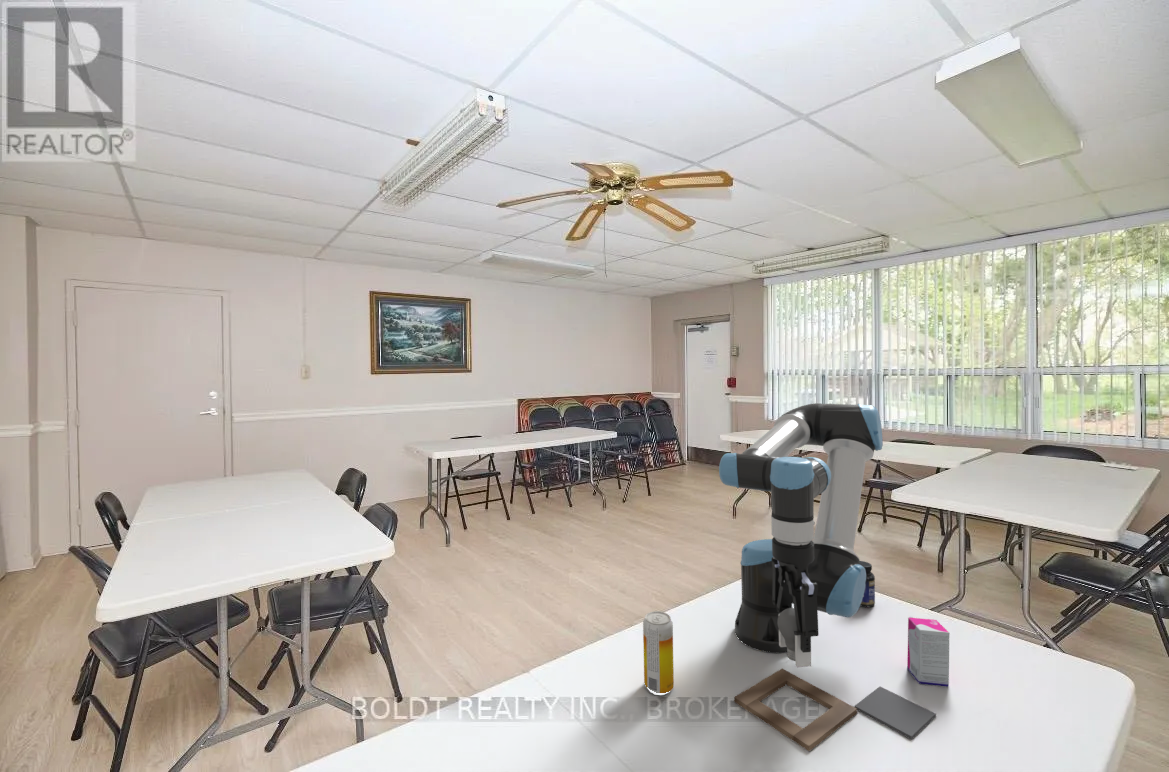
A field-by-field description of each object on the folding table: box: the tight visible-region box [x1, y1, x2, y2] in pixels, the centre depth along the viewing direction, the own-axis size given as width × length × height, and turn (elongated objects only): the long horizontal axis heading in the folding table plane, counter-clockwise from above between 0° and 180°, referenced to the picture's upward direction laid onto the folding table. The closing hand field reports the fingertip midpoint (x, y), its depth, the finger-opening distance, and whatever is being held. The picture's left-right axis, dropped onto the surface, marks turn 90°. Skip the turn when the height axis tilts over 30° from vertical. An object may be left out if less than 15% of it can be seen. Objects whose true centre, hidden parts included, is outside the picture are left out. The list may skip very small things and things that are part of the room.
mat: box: [854, 686, 937, 740], centre depth 95 cm, size 10×10×1 cm
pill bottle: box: [859, 560, 876, 608], centre depth 139 cm, size 6×6×11 cm
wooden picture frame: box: [733, 668, 858, 752], centre depth 97 cm, size 16×16×1 cm
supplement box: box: [906, 616, 951, 688], centre depth 106 cm, size 6×6×12 cm
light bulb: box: [777, 607, 798, 662], centre depth 97 cm, size 6×6×10 cm
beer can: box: [642, 610, 675, 693], centre depth 104 cm, size 6×6×15 cm
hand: (794, 655), depth 97 cm, fingers closed on light bulb, 6 cm apart
